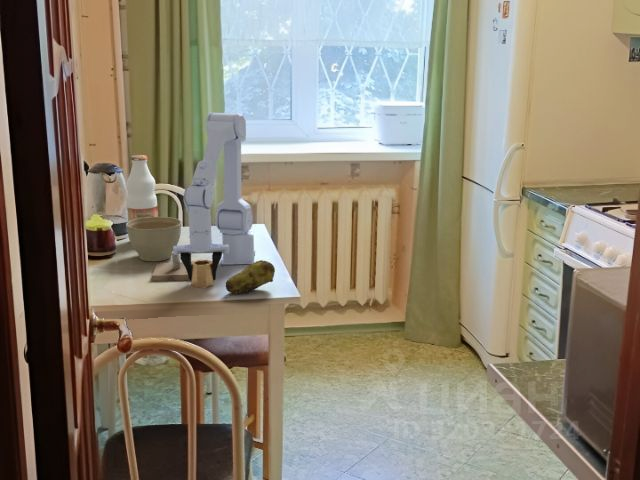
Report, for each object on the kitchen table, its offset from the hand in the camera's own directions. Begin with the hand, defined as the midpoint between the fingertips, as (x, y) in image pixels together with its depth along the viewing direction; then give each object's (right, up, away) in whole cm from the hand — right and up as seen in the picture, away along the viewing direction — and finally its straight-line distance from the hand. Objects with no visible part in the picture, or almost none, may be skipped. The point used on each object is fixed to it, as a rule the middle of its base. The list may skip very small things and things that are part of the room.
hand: (202, 279), depth 211 cm
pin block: (-9, +1, +9) cm, 13 cm away
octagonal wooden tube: (0, -1, 0) cm, 1 cm away
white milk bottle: (-25, +10, +42) cm, 50 cm away
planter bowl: (-18, +5, +25) cm, 31 cm away
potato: (+13, -3, -6) cm, 15 cm away
